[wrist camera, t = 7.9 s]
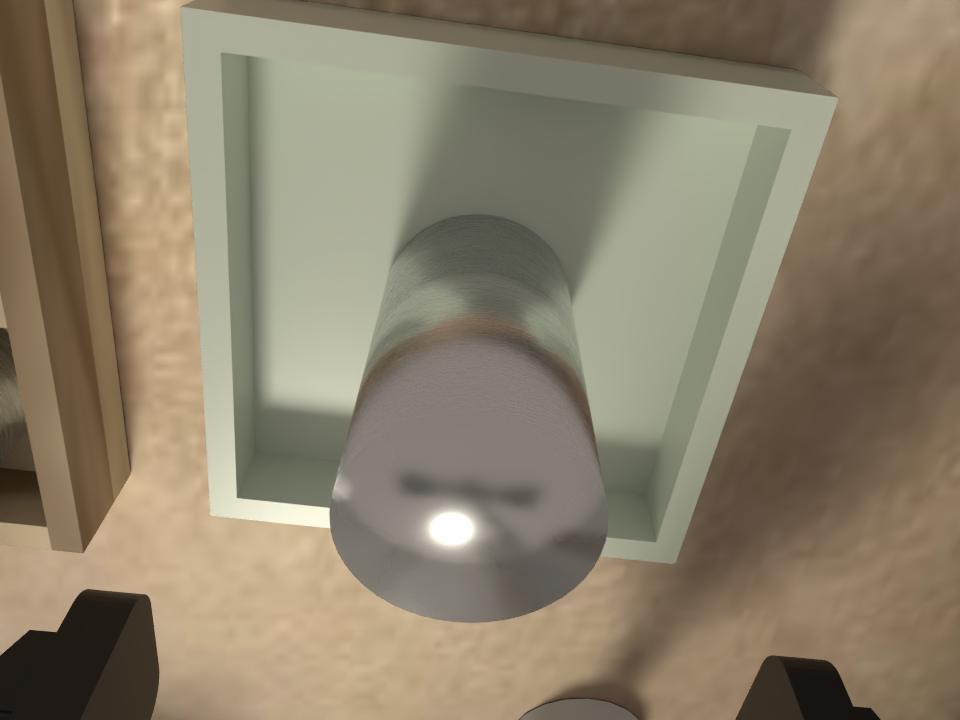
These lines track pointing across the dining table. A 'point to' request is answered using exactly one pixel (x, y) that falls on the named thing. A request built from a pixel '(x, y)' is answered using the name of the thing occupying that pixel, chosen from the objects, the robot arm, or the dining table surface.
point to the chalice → (579, 711)
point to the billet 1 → (9, 400)
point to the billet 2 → (472, 432)
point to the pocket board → (54, 291)
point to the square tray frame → (488, 191)
